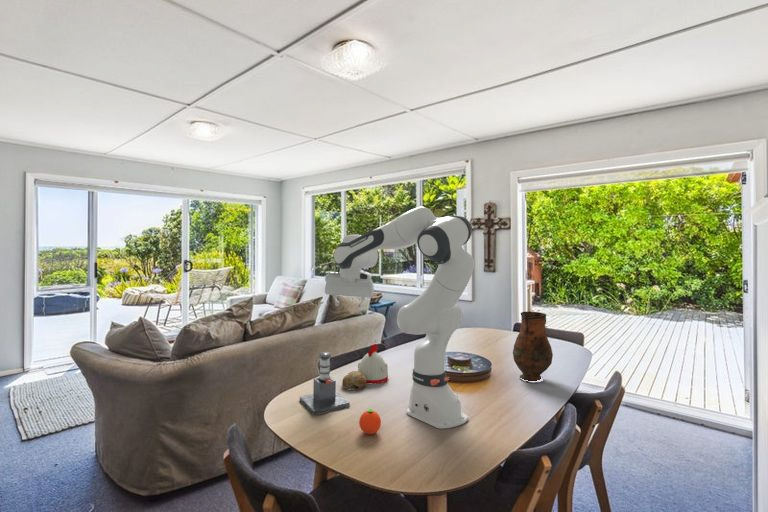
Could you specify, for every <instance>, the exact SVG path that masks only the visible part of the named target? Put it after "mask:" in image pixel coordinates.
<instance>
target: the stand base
mask: <svg viewBox="0 0 768 512" xmlns="http://www.w3.org/2000/svg"><path fill="white" fill-rule="evenodd" d="M336 384H337V382H336V380H335V378H332V376H330V380H326V381H325V382H323V383H321V382H320V380H319V377H315V378H313V386H312V387H313V393H310V394H306V395H301V396H299V401H300V403H301V404H302V405H304V407H305V408H306V409H307V410H308V411H309V412H310V413H311V414H312V415H313V416H315V415H316V416H317V415H319V414H320V415H321V414H324V413H328V412H332V411H336V410H337V411H338V410H340V409H345V408H348V407H350V406H351V403H350V401H348V399H346V398H345V397H343V396H342V395H341V394H340V393H339V392H338V391H336V390H337V389H336V387H337V385H336Z"/></svg>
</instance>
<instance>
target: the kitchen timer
mask: <svg viewBox="0 0 768 512" xmlns="http://www.w3.org/2000/svg"><path fill="white" fill-rule="evenodd" d="M378 348H379V346H378V344H377V343H374V344H371V346H370V348H369V351H368V352H367V353H366V354H364V356H363V357H362V359H361V360H360V362H358V364H357V370H356V371H357V372H360V373H361V374H362V375H364V376H365V378H366V384H367V383H372V384H371V385H377V383H378V384H382V382H383V383H385V382H387V381H388V380H389V372H388V370H389V369H388V368H389V367H388V363H386V362H385V360H384V358H383V357H382V356H381V354H379V353H378ZM375 383H376V384H375Z"/></svg>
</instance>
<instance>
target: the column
mask: <svg viewBox="0 0 768 512" xmlns="http://www.w3.org/2000/svg"><path fill="white" fill-rule="evenodd" d="M331 357H332V352H329V351H321V352H318V358H319V363H318V364H319V371H318V374H319V377H318V378H319V380H320V382H321V383H323V382H325V381H326V380H330V377H331V376H330V374H331V369H330V367H331V362H330V360H331Z"/></svg>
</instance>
